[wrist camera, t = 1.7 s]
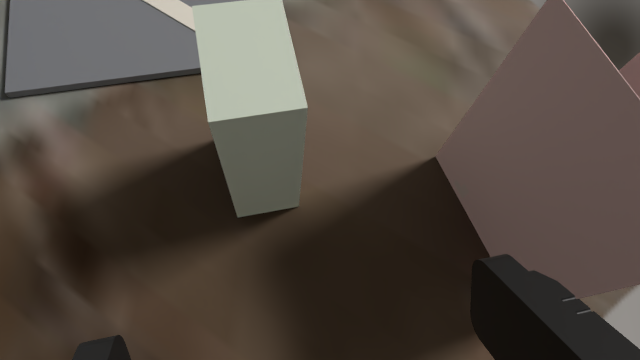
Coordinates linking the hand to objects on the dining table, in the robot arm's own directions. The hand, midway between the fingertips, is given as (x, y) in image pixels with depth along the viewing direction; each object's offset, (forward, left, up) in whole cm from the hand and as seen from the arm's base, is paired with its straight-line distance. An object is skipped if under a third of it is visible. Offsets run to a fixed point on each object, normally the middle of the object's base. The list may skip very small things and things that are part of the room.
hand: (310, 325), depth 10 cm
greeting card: (+14, +6, -17) cm, 23 cm away
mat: (-6, +28, -17) cm, 33 cm away
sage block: (0, +12, -17) cm, 21 cm away
